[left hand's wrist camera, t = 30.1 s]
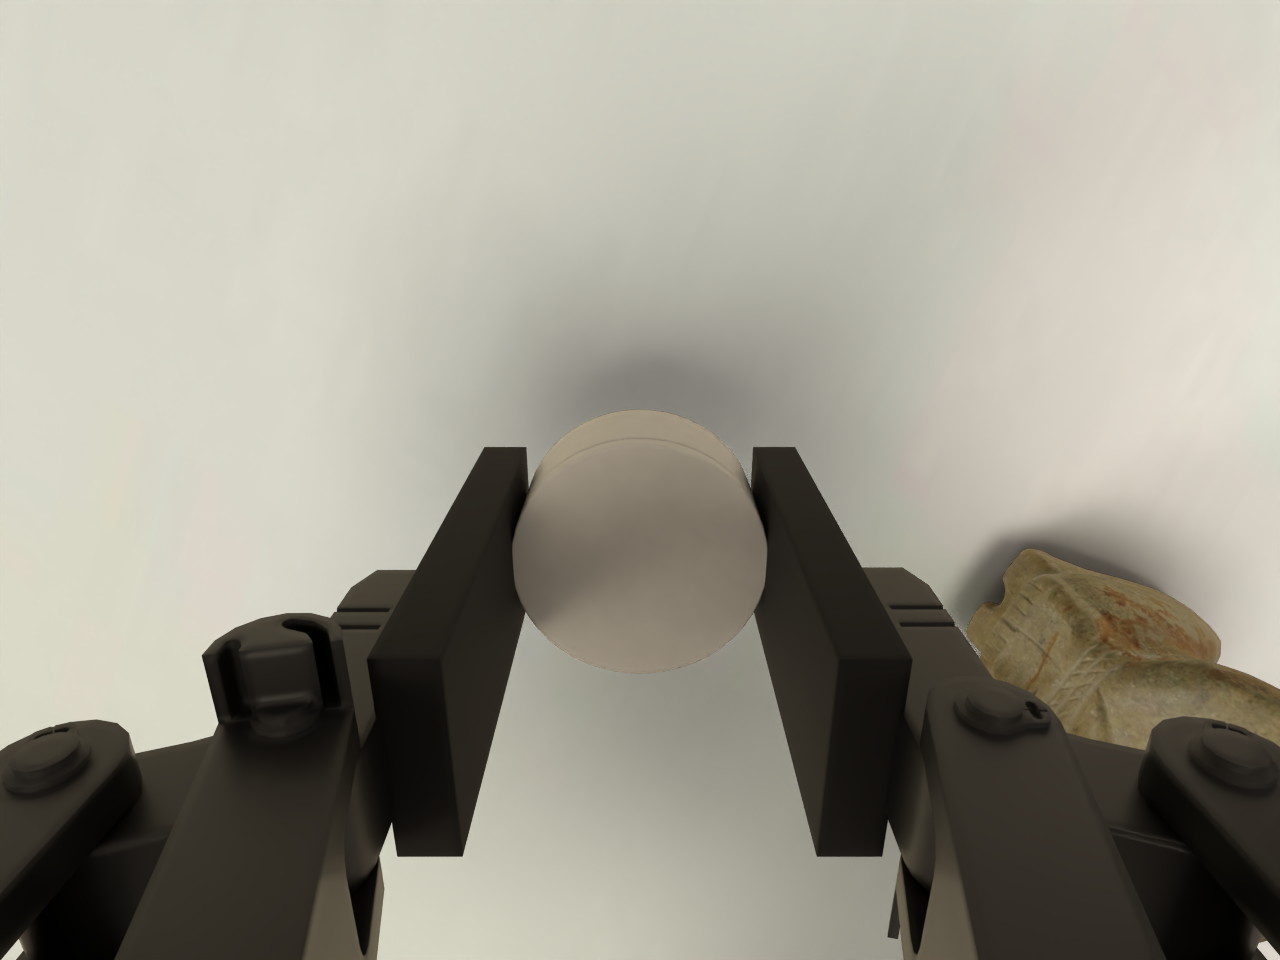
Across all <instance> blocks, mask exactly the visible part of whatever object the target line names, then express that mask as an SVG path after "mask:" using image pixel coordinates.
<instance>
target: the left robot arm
mask: <svg viewBox="0 0 1280 960" xmlns="http://www.w3.org/2000/svg"><path fill="white" fill-rule="evenodd" d="M528 490H529V486H528V469H527V452H526V447H484V449H483V451H482V453H481V455H480V456H479V458H478V460H477V462H476V463H475V465H474V467H473V469H472V471H471V472H470V474H469V476H468V478H467V480H466V481H465V483H464V485H463V487H462V489H461V490H460V492H459V494H458V496H457V498H456V499H455V501H454V503H453V505H452V507H451V508H450V510H449V512H448V514H447V516H446V517H445V519H444V521H443V523H442V524H441V526H440V528H439V530H438V532H437V533H436V535H435V537H434V539H433V541H432V542H431V544H430V546H429V548H428V550H427V551H426V553H425V555H424V557H423V559H422V560H421V562H420V564H419V566H418V568H417V569H416V570H377V571H375V572H374V573H372V574H371V575H369V576H368V577H366V578H365V579H363V580H362V581H360V582H359V583H357V584H356V585H354V586H353V587H351V589H350V590H349V592H348V593H347V594H346V596H345V597H344V599H343V600H342V602H341V603H340V605H339V606H338V607H337V612H334V613H333V615H332V616H331V618H328V617H324V616H320V615H316V614H312V613H286V614H281V615H275V616H270V617H265V618H260V619H258V620H255V621H252V622H250V623H247V624H244V625H242V626H239V627H236V628H234V629H233V630H231V631H230V632H228V633H226V634H225V635H223V636H222V637H220V638H218V639H217V640H215V641H214V642H213V643H212V644H211V646H210V647H209V648H208V649H207V650H206V651H205V652H204V654H203V655H202V658H203V662H204V666H205V670H206V674H207V678H208V682H209V686H210V690H211V694H212V698H213V702H214V706H215V710H216V714H217V718H218V722H219V724H218V726H217V728H216V731H215V733H214V735H213V736H211V737H208V738H204V739H200V740H197V741H193V742H188V743H184V744H179V745H174V746H169V747H165V748H160V749H155V750H150V751H145V752H141V753H136V754H135V752H134V749H133V745H132V742H131V739H130V736H129V733H128V732H127V731H126V730H125V729H123V728H122V727H121V726H120V725H119V724H118V723H113V722H107V721H102V720H87V721H77V722H68V723H64V724H60V725H55V727H48V728H45V729H43V730H40V731H37V732H35V733H33V734H31V735H29V736H27V737H25V738H23V739H21V740H19V741H17V742H14V743H12V744H10V745H8V746H7V747H5V748H4V749H2V750H1V751H0V960H1V959H2V958H3V957H4V956H5V954H6V953H7V952H8V951H9V950H10V948H11V947H12V946H13V945H14V944H15V942H16V941H17V940H18V939H19V940H20V943H21V945H22V947H23V950H24V951H23V952H22V953H21V954H20V956H19V957H18V958H17V959H16V960H377V951H378V942H379V933H380V924H381V914H382V905H383V896H384V883H383V876H382V869H381V863H380V857H379V855H380V852H381V849H382V847H383V844H384V841H385V839H386V836H387V833H388V831H389V828H390V826H391V823H392V825H393V832H394V838H395V845H396V851H397V857H463V853H464V849H465V845H466V841H467V837H468V833H469V829H470V826H471V822H472V818H473V814H474V810H475V806H476V802H477V798H478V794H479V791H480V787H481V783H482V779H483V775H484V771H485V767H486V763H487V759H488V756H489V752H490V748H491V744H492V740H493V736H494V732H495V728H496V725H497V721H498V717H499V713H500V709H501V705H502V701H503V697H504V693H505V690H506V686H507V682H508V678H509V674H510V670H511V666H512V662H513V658H514V655H515V651H516V647H517V643H518V639H519V635H520V631H521V627H522V623H523V620H524V616H525V612H526V611H525V609H524V607H523V605H522V604H521V602H520V599H519V596H518V594H517V591H516V589H515V583H514V570H513V555H512V541H513V536H514V532H515V528H516V525H517V522H518V519H519V516H520V513H521V511H522V508H523V505H524V502H525V499H526V496H527V493H528ZM751 491H752V494H753V497H754V500H755V503H756V505H757V508H758V511H759V514H760V517H761V520H762V523H763V526H764V529H765V533H766V538H767V562H766V576H765V587H764V590H763V593H762V596H761V598H760V601H759V603H758V605H757V607H756V609H755V610H754V614H755V618H756V622H757V625H758V629H759V633H760V637H761V641H762V645H763V649H764V653H765V657H766V660H767V664H768V668H769V672H770V676H771V680H772V684H773V688H774V692H775V695H776V699H777V703H778V707H779V711H780V715H781V719H782V723H783V727H784V730H785V734H786V738H787V742H788V746H789V750H790V754H791V758H792V762H793V765H794V769H795V773H796V777H797V781H798V785H799V789H800V793H801V797H802V800H803V804H804V808H805V812H806V816H807V820H808V824H809V828H810V832H811V835H812V839H813V843H814V847H815V851H816V855H817V857H882V854H883V848H884V841H885V835H886V828H887V822H888V820H889V823H890V826H891V828H892V831H893V834H894V836H895V839H896V841H897V844H898V847H899V849H900V852H901V857H900V863H899V869H898V875H897V881H896V887H895V893H894V899H893V905H892V911H891V917H890V923H889V930H888V937H889V938H895V939H898V935H899V930H900V931H901V940H902V949H903V958H904V960H1267V959H1266V958H1265V957H1264V955H1263V954H1262V953H1261V952H1260V951H1259V949H1258V948H1257V945H1258V943H1259V941H1260V938H1261V936H1262V935H1263V936H1264V937H1265V939H1266V940H1267V941H1268V942H1269V943H1270V944H1271V946H1272V947H1273V948H1274V949H1275V950H1276V952H1277V953H1278V954H1279V955H1280V747H1279V746H1278V745H1276V744H1275V743H1274V742H1272V741H1270V740H1268V739H1265V738H1263V737H1261V736H1259V735H1257V734H1255V733H1253V732H1250V731H1249V730H1247V729H1245V728H1243V727H1240V726H1237V725H1234V724H1231V723H1229V724H1228V723H1225V722H1224V721H1219V720H1214V719H1209V718H1199V717H1189V716H1181V717H1176V718H1170V719H1164V720H1162V721H1161V722H1160V723H1159V724H1158V725H1156V726H1155V727H1154V728H1153V729H1152V730H1151V733H1150V737H1149V740H1148V743H1147V746H1146V750H1141V749H1136V748H1132V747H1127V746H1122V745H1117V744H1112V743H1108V742H1103V741H1098V740H1093V739H1088V738H1085V737H1081V736H1077V735H1074V734H1070V733H1066V731H1065V729H1064V727H1063V725H1062V722H1061V721H1060V720H1059V718H1058V717H1057V716H1056V714H1055V713H1054V712H1053V710H1052V709H1051V708H1050V706H1048V705H1047V704H1046V703H1044V702H1043V701H1042V700H1040V699H1039V698H1037V697H1036V696H1035V695H1033V694H1032V693H1030V692H1028V691H1026V690H1024V689H1022V688H1019V687H1017V686H1015V685H1012V684H1010V683H1008V682H1005V681H1001V680H996V679H994V678H993V677H992V676H991V674H990V673H989V671H988V670H987V668H986V667H985V666H984V664H983V663H982V661H981V660H980V658H979V657H978V655H977V654H976V653H975V651H974V650H973V648H972V647H971V645H970V644H969V642H968V641H967V640H966V638H965V637H964V635H963V634H962V632H961V631H960V629H959V628H958V627H955V625H954V624H955V622H954V621H953V619H952V618H951V617H950V615H949V614H948V612H947V611H946V610H943V605H942V604H941V602H940V601H939V599H938V598H937V596H936V595H935V593H934V592H933V591H932V589H931V588H930V586H929V585H928V584H926V583H925V582H923V581H922V580H920V579H919V578H917V577H916V576H914V575H913V574H911V573H910V572H908V571H907V570H905V569H904V568H862V567H861V565H860V563H859V561H858V560H857V558H856V556H855V554H854V552H853V551H852V549H851V547H850V545H849V543H848V542H847V540H846V538H845V536H844V534H843V533H842V531H841V529H840V527H839V526H838V524H837V522H836V520H835V518H834V517H833V515H832V513H831V511H830V509H829V508H828V506H827V504H826V502H825V500H824V499H823V497H822V495H821V493H820V491H819V490H818V488H817V486H816V484H815V482H814V481H813V479H812V477H811V475H810V473H809V472H808V470H807V468H806V466H805V464H804V463H803V461H802V459H801V457H800V455H799V454H798V452H797V450H796V448H795V447H753V460H752V477H751Z"/></svg>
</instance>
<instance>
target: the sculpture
mask: <svg viewBox="0 0 1280 960" xmlns="http://www.w3.org/2000/svg"><path fill="white" fill-rule="evenodd" d="M1003 582H1004V586H1005V596H1004V599H1003V601H1002V602H1001V604H1000V605H999V604H997V603H984V604H982V605H981V606H980V608H979V609H978V610H977V611H976V613H975V614H974V616H973V618H972V620H971V622H970V623H969V625H968V627H967V631H966V633H967V636H968V637H969V639H970V640H971V642H972V643H973V644H974V645H975V646H976V647H977V648H978V650H979V651H980V652H981V656H980V660H981V661H982V663H983V664H984V666H985V667H986V668H987V670H988V671H989V673H990V674H991V676H992V677H993V678H994V679H996V680H1001V681H1005V682H1008V683H1010V684H1012V685H1015V686H1017V687H1019V688H1022V689H1024V690H1026V691H1028V692H1030V693H1032V694H1033V695H1035V696H1036V697H1037V698H1039V699H1040V700H1042V701H1043V702H1044V703H1046V704H1047V705H1048V706H1050V708H1051V709H1052V710H1053V712H1054V713H1055V714H1056V716H1057V717H1058V718H1059V720H1060V721H1061V722H1062V725H1063V727H1064V729H1065V731H1066V733H1070V734H1074V735H1077V736H1081V737H1085V738H1088V739H1093V740H1098V741H1103V742H1108V743H1112V744H1117V745H1122V746H1127V747H1132V748H1136V749H1141V750H1146V746H1147V743H1148V740H1149V737H1150V733H1151V730H1152V729H1153V728H1154V727H1155V726H1156V725H1158V724H1159V723H1160V722H1161V721H1162V720H1164V719H1170V718H1176V717H1181V716H1189V717H1199V718H1209V719H1214V720H1219V721H1224V722H1225V723H1228V724H1229V723H1231V724H1234V725H1237V726H1240V727H1243V728H1245V729H1247V730H1249V731H1250V732H1253V733H1255V734H1257V735H1259V736H1261V737H1263V738H1265V739H1268V740H1270V741H1272V742H1274V743H1275V744H1276V745H1278V746H1279V747H1280V689H1278V688H1276V687H1274V686H1272V685H1270V684H1268V683H1266V682H1264V681H1262V680H1260V679H1257V678H1255V677H1253V676H1251V675H1249V674H1246V673H1243V672H1241V671H1238V670H1235V669H1232V668H1229V667H1226V666H1222V665H1219V664H1216V663H1217V661H1218V660H1219V658H1220V653H1221V641H1220V639H1219V637H1218V636H1217V634H1216V633H1215V632H1214V631H1213V630H1212V628H1211V627H1210V626H1209V625H1208V624H1207V623H1206V622H1205V621H1204V620H1202V619H1201V618H1200V617H1199V616H1198V615H1197V614H1196V613H1195V612H1193V611H1192V610H1191V609H1190V608H1188V607H1187V606H1185V605H1184V604H1182V603H1180V602H1179V601H1177V600H1176V599H1174V598H1172V597H1170V596H1168V595H1166V594H1164V593H1161V592H1159V591H1157V590H1155V589H1152V588H1149V587H1146V586H1143V585H1140V584H1138V583H1134V582H1131V581H1128V580H1124V579H1121V578H1117V577H1114V576H1109V575H1105V574H1101V573H1098V572H1094V571H1090V570H1087V569H1084V568H1081V567H1078V566H1076V565H1073V564H1071V563H1068V562H1066V561H1063V560H1060V559H1057V558H1054V557H1053V556H1051V555H1050V554H1048V553H1045V552H1043V551H1040V550H1036V549H1025V550H1023V551H1022V552H1021V553H1020V554H1019V555H1018V557H1017V558H1016V559H1015V560H1014V561H1013V562H1012V564H1011V565H1010V566H1009V567H1008V568H1007V570H1006V571H1005V573H1004V575H1003ZM1264 941H1267V940H1266V939H1265V937H1264V936H1263V935H1262V936H1261V938H1260V941H1259V943H1260V942H1264Z"/></svg>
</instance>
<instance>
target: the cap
mask: <svg viewBox="0 0 1280 960" xmlns="http://www.w3.org/2000/svg"><path fill="white" fill-rule="evenodd" d="M512 555H513V570H514V583H515V589H516V591H517V594H518V596H519V599H520V602H521V604H522V605H523V607H524V609H525V611H526V613H527V615H528V616H529V617H530V619H531V620H532V622H533V623H534V624H535V626H536V627H537V628H538V629H539V630H540V631H541V632H542V633H543V634H544V635H545V636H546V637H547V639H549V640H550V641H551V642H552V643H554V644H555V645H556V646H557V647H559V648H560V649H561V650H563V651H565V652H566V653H568V654H570V655H571V656H573V657H575V658H577V659H579V660H581V661H583V662H585V663H588V664H591V665H594V666H597V667H600V668H603V669H608V670H612V671H617V672H627V673H653V672H662V671H667V670H672V669H676V668H680V667H683V666H686V665H689V664H692V663H694V662H696V661H699V660H701V659H703V658H705V657H707V656H709V655H710V654H712V653H713V652H715V651H717V650H718V649H720V648H721V647H722V646H724V645H725V644H726V643H727V642H729V641H730V640H731V639H732V638H733V637H734V636H735V635H736V634H737V633H738V632H739V631H740V630H741V629H742V628H743V627H744V625H745V624H746V622H747V621H748V620H749V618H750V617H751V616H752V614H753V612H754V610H755V609H756V607H757V605H758V603H759V601H760V598H761V596H762V593H763V590H764V587H765V576H766V562H767V538H766V533H765V529H764V526H763V523H762V520H761V517H760V514H759V511H758V508H757V505H756V503H755V500H754V497H753V494H752V491H751V488H750V485H749V483H748V480H747V478H746V475H745V473H744V471H743V469H742V467H741V465H740V464H739V462H738V460H737V459H736V457H735V456H734V455H733V453H732V452H731V451H730V450H729V448H728V447H727V446H726V445H725V444H724V443H723V442H722V441H721V440H720V439H719V438H718V437H716V436H715V435H714V434H712V433H711V432H710V431H708V430H707V429H705V428H704V427H702V426H700V425H698V424H696V423H695V422H693V421H691V420H688V419H685V418H683V417H680V416H678V415H674V414H670V413H666V412H662V411H653V410H626V411H619V412H613V413H610V414H606V415H602V416H599V417H597V418H594V419H592V420H589V421H587V422H585V423H583V424H581V425H580V426H578V427H576V428H574V429H573V430H571V431H570V432H569V433H567V434H566V435H565V436H564V437H562V438H561V439H560V440H559V441H558V442H557V443H556V444H555V445H554V446H553V447H552V448H551V449H550V450H549V452H548V453H547V454H546V456H545V457H544V458H543V460H542V461H541V463H540V465H539V467H538V468H537V470H536V472H535V474H534V477H533V480H532V482H531V485H530V488H529V490H528V493H527V496H526V499H525V502H524V505H523V508H522V511H521V513H520V516H519V519H518V522H517V525H516V528H515V532H514V536H513V541H512Z"/></svg>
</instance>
